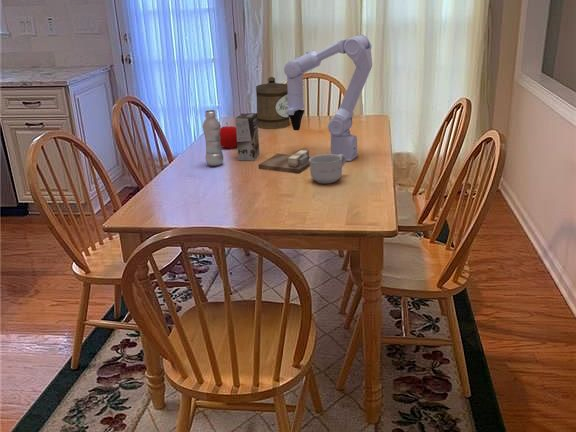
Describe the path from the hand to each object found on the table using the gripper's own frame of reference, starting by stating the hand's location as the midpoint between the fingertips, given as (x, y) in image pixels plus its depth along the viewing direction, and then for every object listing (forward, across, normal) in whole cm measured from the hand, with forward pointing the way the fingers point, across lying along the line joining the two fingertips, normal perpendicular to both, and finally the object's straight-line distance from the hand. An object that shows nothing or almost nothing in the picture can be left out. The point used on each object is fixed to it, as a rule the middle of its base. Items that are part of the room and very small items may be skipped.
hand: (296, 129), depth 216 cm
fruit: (+10, -5, -30) cm, 32 cm away
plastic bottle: (+10, +19, -26) cm, 34 cm away
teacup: (+10, +28, +19) cm, 35 cm away
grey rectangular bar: (+7, +15, +5) cm, 18 cm away
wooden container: (+10, -43, -23) cm, 50 cm away
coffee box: (+10, +8, -17) cm, 21 cm away
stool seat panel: (+9, +15, 0) cm, 18 cm away
